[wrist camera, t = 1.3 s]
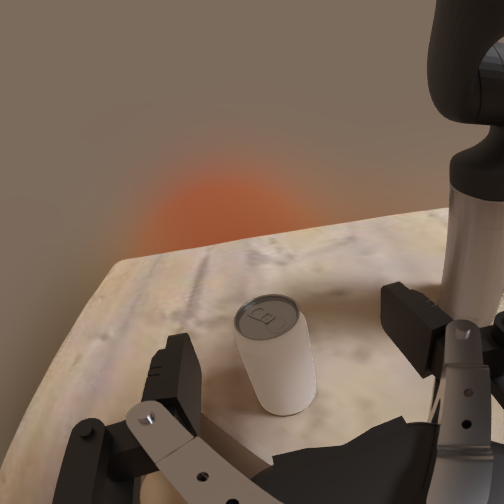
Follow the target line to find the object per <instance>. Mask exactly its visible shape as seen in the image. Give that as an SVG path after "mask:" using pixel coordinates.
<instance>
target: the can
mask: <svg viewBox="0 0 504 504" xmlns="http://www.w3.org/2000/svg"><path fill="white" fill-rule="evenodd" d="M234 326H235V331H234V338H235V342H236V345H237V348H238V351H239V353H240V356H241V359H242V361H243V364H244V366H245V369H246V371H247V374H248V376H249V379H250V381H251V384H252V386H253V388H254V391H255V393H256V396H257V398H258V400H259V402H260V404H261V406H262V407H263V408H264V409H265V410H267V411H268V412H270V413H272V414H275V415H282V416H285V415H292V414H296V413H298V412H301V411H302V410H304V409H305V408H307V407H308V406H309V405H310V403H311V402H312V400H313V399H314V397H315V394H316V381H315V373H314V366H313V359H312V352H311V345H310V338H309V332H308V326H307V322H306V319H305V317H304V315H303V314H302V312H301V311H300V308H299V306H298V304H297V303H296V302H295V301H294V300H293V299H292V298H290V297H288V296H284V295H279V294H269V295H263V296H260V297H257V298H254V299H252V300H250V301H248V302H247V303H245V304H244V305H243V306H242V307H241V308H240V309H239V310H238V311H237V313H236V315H235V318H234Z"/></svg>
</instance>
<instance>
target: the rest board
mask: <svg viewBox="0 0 504 504" xmlns="http://www.w3.org/2000/svg"><path fill="white" fill-rule="evenodd" d="M200 438H201V439H202V440H203V441H204V442H205V443H206V444H208V445H209V446H210V447H211V448H212V449H213V450H214V451H215V452H217V453H218V454H219V455H220V456H221V457H222V458H224V459H225V460H226V461H227V462H228V463H229V464H231V465H232V466H233V467H234V468H236V469H237V470H238V471H239V472H241V473H242V474H243V475H244V476H246V477H247V478H248V479H251V478H252V477H253V476H254V475H256V474H257V473H259V472H260V471H262V470H264V469H266V468H268V467H270V466H271V465H269V464H268V463H266V462H265V461H263V460H262V459H260V458H259V457H257V456H256V455H255V454H253V453H252V452H250V451H249V450H248V449H246V448H245V447H244V446H242V445H241V444H240V443H238V442H237V441H236V440H234V439H233V438H232V437H230V436H229V435H228V434H226V433H225V432H224V431H223V430H221V429H220V428H219V427H218V426H216V425H215V424H214V423H213V422H211V421H210V420H209V419H208V418H207V417H205V416H204V415H203V414H202V413H201V412H200ZM140 504H189V503H188V502H187V501H186V500H185V499H184V497H183V496H182V495H181V494H180V493H179V492H178V491H177V490H176V489H175V487H174V486H173V485H172V484H171V483H170V482H169V480H168V479H167V478H166V477H165V476H164V475H163V473H162V472H161V471H157V472H153V473H150V474H147V475H143V476H141V488H140Z"/></svg>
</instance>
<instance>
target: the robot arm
mask: <svg viewBox="0 0 504 504" xmlns="http://www.w3.org/2000/svg"><path fill="white" fill-rule="evenodd" d="M502 37H504V0H437V1H436V10H435V15H434V21H433V26H432V32H431V37H430V43H429V49H428V59H427V78H428V86H429V91H430V95H431V98H432V101H433V103H434V105H435V107H436V108H437V110H438V111H439V112H440V113H441V114H442V115H443V116H444V117H445V118H447V119H449V120H451V121H455V122H460V123H465V124H481V125H490V131H489V133H488V135H487V137H486V138H485V139H483V140H482V141H481V142H480V143H478V144H477V145H475V146H473V147H471V148H469V149H466V150H464V151H461V152H459V153H457V154H456V155H454V156H453V157H452V159H451V161H450V194H449V196H450V197H449V219H448V233H447V244H446V253H445V262H444V269H443V276H442V282H441V289H440V295H439V300H438V306H437V305H436V306H435V304H434V303H433V302H432V301H431V300H429V299H428V298H427V297H426V296H425V295H424V294H422V293H420V292H418V291H415V290H412V289H411V290H409V289H408V288H407V287H405V286H404V285H403V284H402V283H401V282H395V283H392V284H388V285H385V286H383V287H382V288H381V324H382V327H383V329H384V331H385V332H386V334H387V335H388V336H389V337H390V338H391V340H392V341H393V342H394V343H395V345H396V346H397V347H398V348H399V349H400V351H401V352H402V353H403V354H404V356H405V357H406V358H407V359H408V361H409V362H410V363H411V364H412V366H413V367H414V368H415V369H416V371H417V372H418V373H419V375H420V376H421V377H422V378H426V377H428V376H430V375H432V374H433V375H434V376H435V379H434V384H433V391H432V398H431V405H430V411H429V416H428V421H427V422H413V423H406V422H405V420H404V419H403V417H402V416H400V417H398V418H395V419H393V420H390V421H388V422H385V423H383V424H380V425H378V426H375V427H373V428H371V429H369V430H368V431H366V432H365V433H363V434H361V435H360V436H358V437H357V438H355V439H353V440H351V441H350V442H348V443H346V444H344V445H341V446H332V447H319V448H305V449H301V450H297V451H293V452H289V453H284V454H280V455H275V456H272V458H273V463H274V465H272V466H270V467H268V468H266V469H264V470H262V471H260V472H259V473H257V474H256V475H254V476H253V477H252V478H251V479H248V478H247V477H246V476H244V475H243V474H242V473H241V472H239V471H238V470H237V469H236V468H234V467H233V466H232V465H231V464H229V463H228V462H227V461H226V460H225V459H224V458H222V457H221V456H220V455H219V454H218V453H217V452H215V451H214V450H213V449H212V448H211V447H210V446H209V445H208V444H206V443H205V442H204V441H203V440H202V439H201V438H200V411H201V381H202V374H201V368H200V364H199V361H198V358H197V356H196V353H195V351H194V348H193V345H192V343H191V340H190V337H189V335H188V334H187V333H182V334H176V335H171V336H168V339H167V343H166V348H165V349H161V350H158V351H157V353H156V354H155V355H154V357H153V358H152V360H151V364H150V370H149V371H148V377H147V379H146V383H145V388H144V392H143V396H142V400H141V403H139V404H137V405H135V406H134V407H133V408H131V410H130V411H129V412H128V414H127V416H126V420H124V421H122V422H119V423H115V424H112V425H109V426H105V425H104V424H103V423H102V421H100V420H99V419H96V418H88V419H85V420H82V421H81V422H79V423H78V424H77V425H76V426H75V427H74V428H73V430H72V432H71V435H70V438H69V441H68V445H67V448H66V451H65V455H64V458H63V462H62V466H61V469H60V473H59V477H58V481H57V485H56V489H55V493H54V498H53V502H52V504H140V488H141V476H143V475H147V474H150V473H153V472H157V471H161V472H162V473H163V475H164V476H165V477H166V478H167V479H168V480H169V482H170V483H171V484H172V485H173V486H174V487H175V489H176V490H177V491H178V492H179V493H180V494H181V495H182V496H183V497H184V499H185V500H186V501H187V502H188V503H189V504H504V444H501V443H497V442H493V441H491V394H492V395H493V396H494V398H495V399H496V400H497V401H498V403H499V404H500V405H501V407H502V408H503V409H504V311H503V312H500V313H498V314H497V315H496V313H497V310H498V307H499V304H500V300H501V297H502V294H503V291H504V44H503V43H499V42H497V41H498V40H499V39H501V38H502ZM494 318H495V319H494ZM493 320H494V323H493V325H491V326H489V325H490V324H491V323H492V322H493Z"/></svg>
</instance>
